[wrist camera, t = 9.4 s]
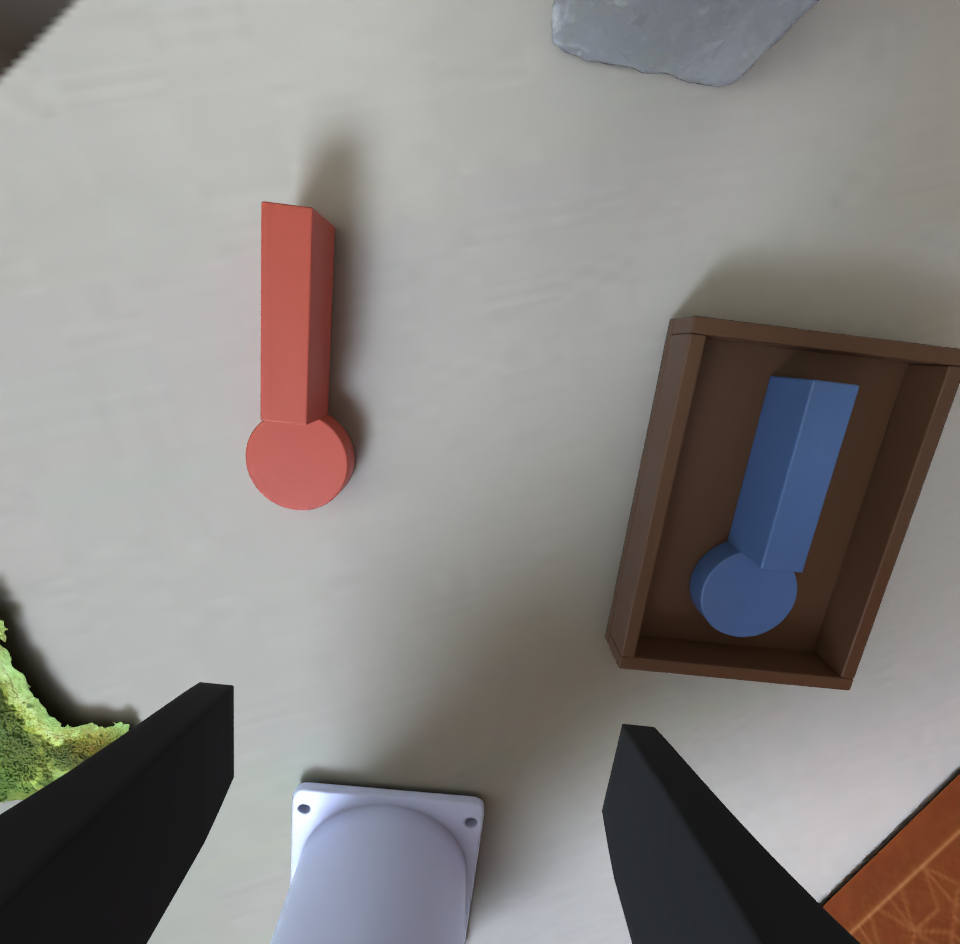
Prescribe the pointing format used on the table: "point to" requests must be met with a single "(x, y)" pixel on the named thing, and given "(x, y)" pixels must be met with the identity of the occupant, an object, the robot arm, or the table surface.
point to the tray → (717, 484)
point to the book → (909, 882)
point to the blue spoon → (775, 507)
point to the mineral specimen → (675, 34)
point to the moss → (38, 737)
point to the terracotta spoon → (297, 364)
